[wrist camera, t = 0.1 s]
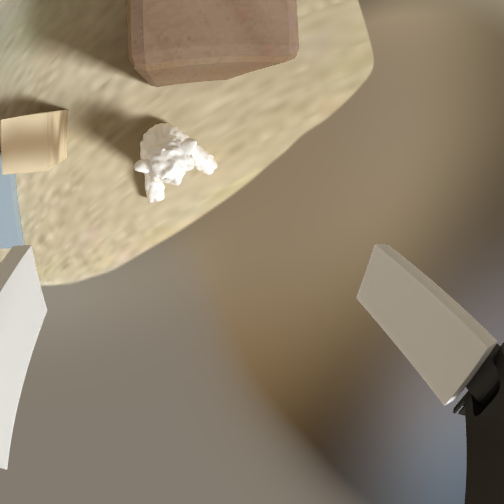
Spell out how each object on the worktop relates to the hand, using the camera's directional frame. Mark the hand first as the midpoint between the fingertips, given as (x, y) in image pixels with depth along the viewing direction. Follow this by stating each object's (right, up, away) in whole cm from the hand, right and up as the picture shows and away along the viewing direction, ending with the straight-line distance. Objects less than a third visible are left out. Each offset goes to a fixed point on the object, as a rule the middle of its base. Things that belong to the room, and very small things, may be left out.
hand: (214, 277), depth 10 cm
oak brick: (-24, +15, +18) cm, 33 cm away
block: (-6, +25, +18) cm, 31 cm away
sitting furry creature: (-9, +13, +24) cm, 28 cm away
